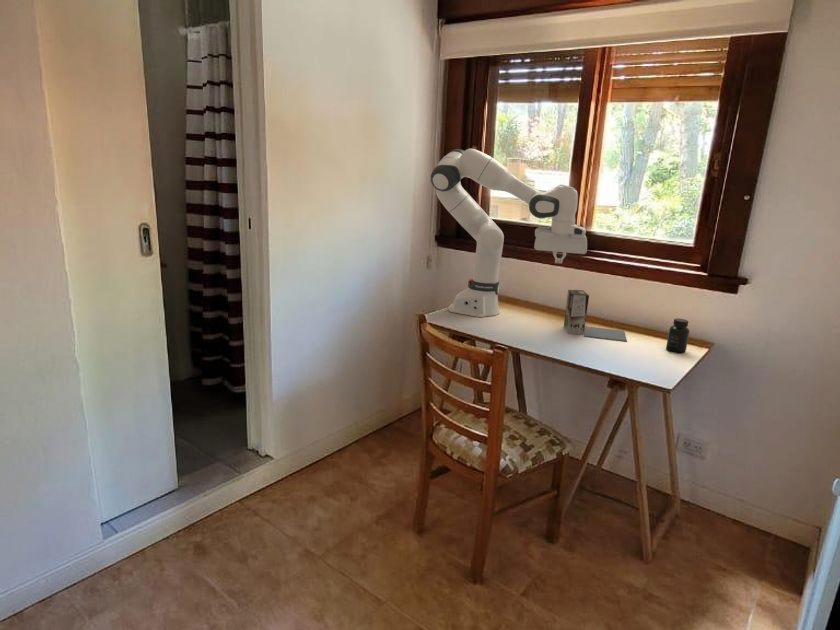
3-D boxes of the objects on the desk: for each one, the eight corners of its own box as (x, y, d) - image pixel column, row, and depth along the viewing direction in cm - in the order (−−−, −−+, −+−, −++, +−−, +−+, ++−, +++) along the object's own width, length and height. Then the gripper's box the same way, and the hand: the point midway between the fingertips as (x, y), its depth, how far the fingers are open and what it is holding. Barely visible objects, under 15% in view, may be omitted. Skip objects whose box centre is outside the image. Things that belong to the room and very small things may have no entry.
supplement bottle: (689, 353, 202) (695, 323, 199) (672, 354, 201) (678, 323, 198) (678, 347, 209) (684, 317, 205) (661, 347, 208) (667, 317, 204)
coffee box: (584, 334, 219) (589, 295, 214) (568, 333, 219) (573, 294, 214) (578, 327, 228) (583, 289, 223) (563, 326, 228) (567, 289, 223)
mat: (583, 336, 216) (584, 335, 216) (583, 327, 228) (583, 325, 228) (626, 341, 212) (626, 340, 212) (624, 331, 224) (624, 330, 224)
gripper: (535, 227, 213) (531, 262, 217) (589, 231, 208) (585, 267, 212) (536, 225, 219) (532, 259, 223) (589, 229, 214) (584, 263, 218)
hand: (558, 263), depth 217 cm, fingers closed
